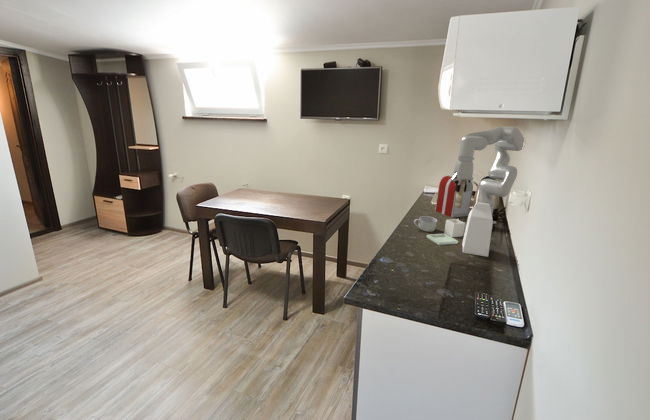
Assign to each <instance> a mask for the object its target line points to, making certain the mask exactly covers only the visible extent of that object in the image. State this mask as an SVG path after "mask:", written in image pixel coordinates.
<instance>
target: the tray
mask: <svg viewBox="0 0 650 420" xmlns="http://www.w3.org/2000/svg"><path fill="white" fill-rule="evenodd" d="M426 239H427V240H429V241H430V242H431V243H434V244H435V245H437V246H443V245H455V244H459V240H457V239H456V238H455V237H451V236H449V235H447V234H446V233H435V234H434V233H433V234H426Z"/></svg>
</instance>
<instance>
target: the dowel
mask: <svg viewBox="0 0 650 420" xmlns="http://www.w3.org/2000/svg"><path fill="white" fill-rule="evenodd" d="M465 181H466V180H461V182H460V192H457V194H456V201H455V207H456V208H461V206H462V199H463V193H464V187H465Z"/></svg>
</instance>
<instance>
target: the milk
mask: <svg viewBox="0 0 650 420" xmlns="http://www.w3.org/2000/svg"><path fill="white" fill-rule="evenodd" d="M493 221H494V220H493V213H491V208H490V204H485V203H478V202H476V203H475V204H474V206H472V208H471V210H469V215H468V216H467V219H466V224H465V229H464V234H463V239H462V243H461V244H462V249H461V250H462V253H464V254H468V255H469V254H470V255H475V256H482V257H488V258H489V253H490V245H491V239H492V238H491V237H492V232H493V231H492V230H493V228H492V227H493V225H494V224H493Z"/></svg>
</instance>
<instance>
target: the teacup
mask: <svg viewBox="0 0 650 420" xmlns="http://www.w3.org/2000/svg"><path fill="white" fill-rule="evenodd" d="M417 222H418V224H417ZM437 223H438V219H437V218H435V217H433V216H430V215H429V216H428V215H422V216H421V215H420V216H419V218H416V219H414V220H413V224H414V225H415V226H416V227H417V228H418V229H419V230H421V231H422V232H425V233H432V232H434V231H435V230H436V228H437V225H438V224H437Z"/></svg>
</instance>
